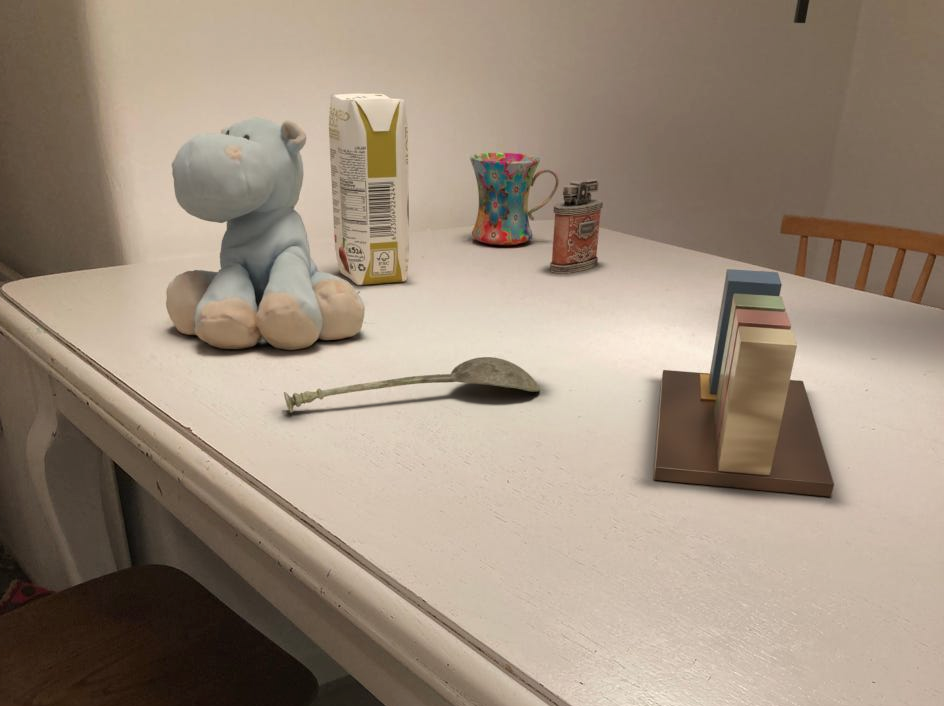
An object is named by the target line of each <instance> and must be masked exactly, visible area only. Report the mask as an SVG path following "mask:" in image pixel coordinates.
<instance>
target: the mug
mask: <svg viewBox="0 0 944 706" xmlns="http://www.w3.org/2000/svg"><path fill="white" fill-rule="evenodd" d="M469 159H470V163H471V165H472V169H473V171H474V175H475V179H476V185H477V190H478V191H477V193H478V210H477V216H476V220H475V223H474V226H473V229H472V231H471V236H472V238H473V239H474V240H476V241H478V242H481V243H483V244H486V245H493V246H516V245H521V244H523V243H526V242H528V241H530V240H532V238H533V236H534V235H533V231H532V229H531V225H530V221H529V219H530V220H531V221H534V220H535V217H534V216H533V215H532V213H535V212H536V211H538V210H540V209H541V208H542V209H543V207H544V206H546V205H547V204H548V203H549V201H551V200H552V198H553V197H554V195H555V193H556V192H557V189H558V187H559V182H560V179H559V178H560V177H559V176H558V174H557V172H556V171H554V170H553V169H551V168H544V169H541V170H539V171H538V172H536V170H537V168H538V166H539V164H540V161H541V159H540V157H539V156H536V155H533V154H526V153H516V152H515V153H514V152H483V153H475V154H472V155H470V157H469ZM535 173H536V174H535ZM545 173H549V174H550V175H553V176H554V178H555V184H554V187H553V189H552V191H551V192H550V194H549V195H548V197H547V198H546V199H545V200H544V201H542V202H541V203H540V204H539V205H537V206H535V207H533V208H532V209H529V208H528V207H529V205H528V204H529V196H530V190H531V187H534V184H535V182H536V180H537V178H538V177H539V176H541V175H543V174H545ZM528 209H529V210H528Z"/></svg>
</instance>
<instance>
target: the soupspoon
mask: <svg viewBox="0 0 944 706" xmlns="http://www.w3.org/2000/svg"><path fill="white" fill-rule="evenodd" d="M433 383H434V384H435V383H438V384H439V383H463V384H474V385H475V384H476V385H486V386H488V385H489V386H493V387H494V386H495V387H502V388H512V389H516V390H517V389H518V390H522V391H527V392H540V391H541V387H540V386H539V384H538V383H537V381H536V380H535V379H534V378H533V377H532V375H530V373H529V372H527V370H525V369H523V368H522V367H520V365H518V364H516V363H513V362H511V361H509V360H506V359H503V358H499V357H492V356H482V357H475V358H472V359H468V360H466V361H463V362H461V363H460V364H458V365H456V366H455V367H454V368H453V369H452V371H450V373H443V374H426V375H425V374H424V375H415V376H405V377H398V378H392V379H386V380H378V381H372V382H371V381H370V382H365V383H364V382H363V383H359V384H351V385H346V386H345V385H344V386H341V387H333V388H327V389H323V390H322V389H321V388H317V389H316V391H310V390H307V391H304V392H300V393H297V392H293V393H292V396H290V395H289V394H288V392H286V391H284V392H283V397H284V400H285V404H286V407H287V409H288V411H289V413H290V414H292V413H293V412H294V407H297V408H300V407H301V406H302V404H304V405H305V404H309V403H312V402H314V401H315V400H316V399H319V400H321V401H322V400H324V398H326V397H329V396H337V395H343V394H348V393H349V394H350V393H355V392H362V391H371V390H379V389H385V388H392V387H401V386H409V385H418V384H419V385H420V384H433Z"/></svg>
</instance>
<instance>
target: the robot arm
mask: <svg viewBox="0 0 944 706" xmlns="http://www.w3.org/2000/svg"><path fill="white" fill-rule="evenodd" d="M809 5H810V0H797V2H796V8H795V12H794V18H793V23H794V24H806V21H807V15H808V9H809Z"/></svg>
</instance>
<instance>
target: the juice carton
mask: <svg viewBox="0 0 944 706" xmlns="http://www.w3.org/2000/svg"><path fill="white" fill-rule="evenodd" d="M406 111H407V110H406V105H405V99H404V98H390V97H389V96H388V95H385V94H384V93H341V94H340V93H337V94H330V104H329V116H328V136H329V137H328V138H329V139H328V140H329V157H330V160H329V161H330V177H331V199H332V217H333V234H334V235H333V236H334V251H335V256H336V260H337V265H338V269H339V272H340V274H342V275H343V276H344V277H346V278H348V279H349V280H351V281H352V283H354V284H355V285H358V286H365V285H366V286H367V285H378V284H379V285H380V284H390V283H401V282H406V281H407V276H408V271H409V270H408V268H409V259H410V207H409V203H410V202H409V200H410V198H409V191H410V190H409V128H408V118H407V112H406Z"/></svg>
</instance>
